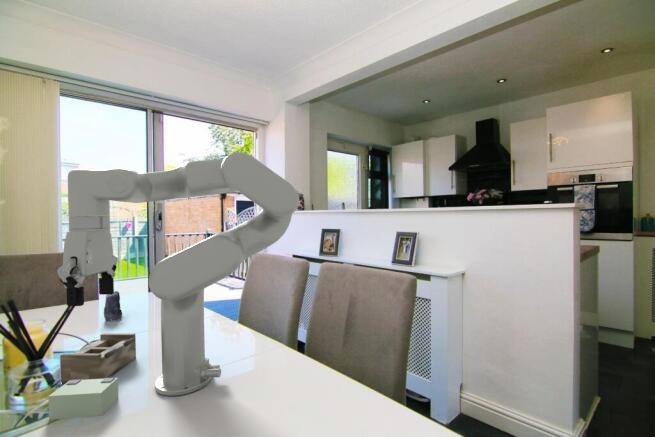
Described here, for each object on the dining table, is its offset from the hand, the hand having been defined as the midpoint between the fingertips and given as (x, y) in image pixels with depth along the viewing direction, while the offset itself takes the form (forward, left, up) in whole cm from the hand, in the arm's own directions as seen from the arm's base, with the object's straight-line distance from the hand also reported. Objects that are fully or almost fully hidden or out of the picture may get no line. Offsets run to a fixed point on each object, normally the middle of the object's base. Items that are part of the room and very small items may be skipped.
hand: (92, 299), depth 73 cm
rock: (+35, -53, -22) cm, 67 cm away
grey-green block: (-2, +5, -22) cm, 23 cm away
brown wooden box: (+7, -11, -22) cm, 25 cm away
